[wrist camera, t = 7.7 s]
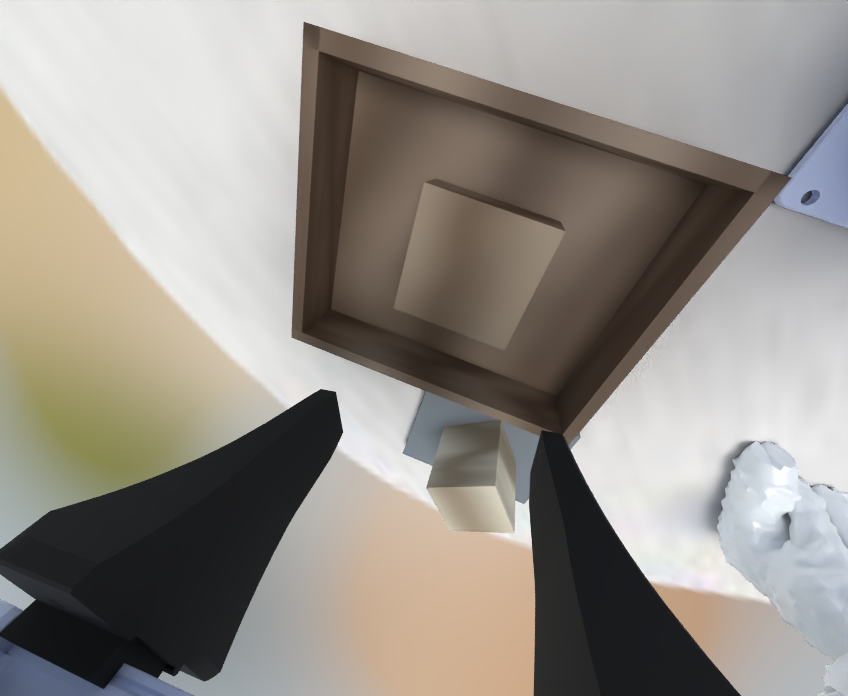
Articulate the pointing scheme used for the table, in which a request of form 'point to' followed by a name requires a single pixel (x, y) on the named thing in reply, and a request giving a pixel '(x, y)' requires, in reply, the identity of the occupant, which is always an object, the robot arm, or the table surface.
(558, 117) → the walnut crate
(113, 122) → the table surface
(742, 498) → the white creature statuette
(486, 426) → the metal block
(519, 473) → the slate mat
